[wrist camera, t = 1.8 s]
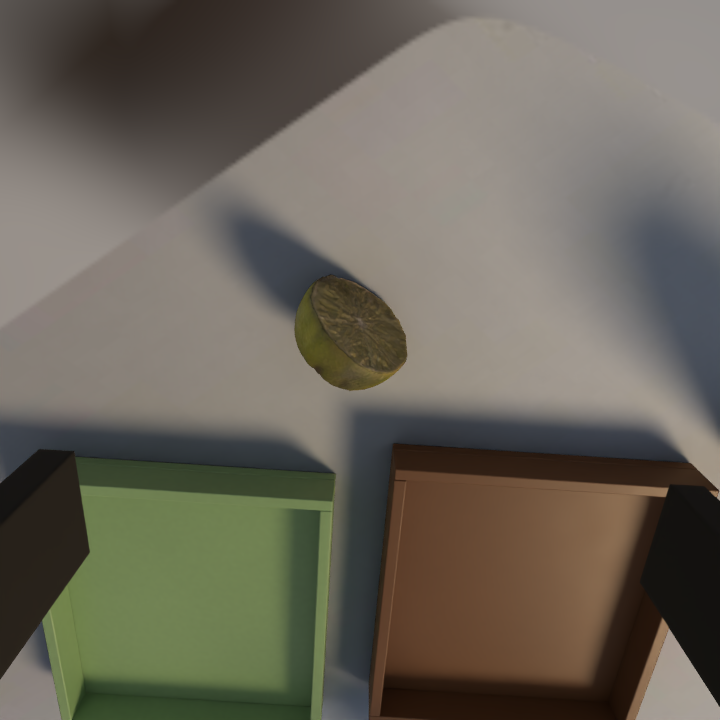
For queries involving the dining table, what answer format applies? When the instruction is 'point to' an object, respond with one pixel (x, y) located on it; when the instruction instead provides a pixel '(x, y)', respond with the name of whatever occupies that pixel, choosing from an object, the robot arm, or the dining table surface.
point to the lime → (349, 334)
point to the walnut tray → (517, 585)
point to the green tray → (195, 594)
